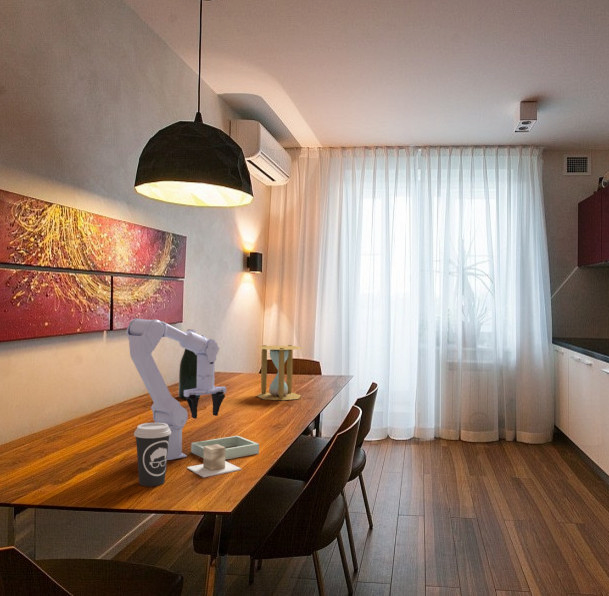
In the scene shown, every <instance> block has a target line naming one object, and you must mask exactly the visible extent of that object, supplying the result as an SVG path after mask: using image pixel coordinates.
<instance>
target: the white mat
mask: <svg viewBox="0 0 609 596" xmlns="http://www.w3.org/2000/svg"><path fill="white" fill-rule="evenodd" d="M186 469H187V470H189V471H191V472H193V473H194V474H196V475H199V476H200V477H201V478H207V477H213V476H214V477H215V476H218V475H222V474H228V473H233V472H238V471H242V468H241V467H239V466H237V465H235V464H232V463H231V462H228V461H226V460H225V469H220V470H214V471H210V470H208V469H206V468H204V467H203V463H202V464H197V465H191V466H187V467H186Z"/></svg>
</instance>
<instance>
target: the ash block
mask: <svg viewBox="0 0 609 596" xmlns="http://www.w3.org/2000/svg"><path fill="white" fill-rule="evenodd" d="M225 449H226V447H223V446H221V445H219V444H215V445H209V446H204V459H203V463H202V464H203V467H204V468H206V469H208V470H210V471H214V470H220V469H225V461H226V460H225Z"/></svg>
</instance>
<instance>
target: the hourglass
mask: <svg viewBox="0 0 609 596" xmlns="http://www.w3.org/2000/svg"><path fill="white" fill-rule="evenodd" d="M256 348H257V349H261V368H260V369H261V371H260V372H261V373H260V376H261V377H260V380H261V382H260V383H261V384H260V385H261V386H260V388H261V390H260V391H261V392H260V393H258V395H256V397H258V398H260V399H262V400H265V401H266V400H269V401H271V400H273V401H287V400H291V401H292V400H299V399H300V398H301V396H302V395H301V394H298V393H296V392H292V388H293V350H301V349H302V348H303V347H301V346H297V345H292V344H288V345H267V344H263V345H260V346H257V347H256ZM268 350H269V358H270V359H271V361H272V363H273V365H274V366H275V368H276V369H277V373H276V375H274V376H275V377H274V378H273V380H272V381H271V383H270V385H269V388H268V389H269V391H268V392H267V382H268V381H267V379H268V377H267V376H268ZM285 363H286V380H285Z"/></svg>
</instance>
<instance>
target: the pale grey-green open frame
mask: <svg viewBox="0 0 609 596" xmlns="http://www.w3.org/2000/svg"><path fill="white" fill-rule="evenodd" d="M190 443H191V447H190V448H191V450H190V453H191V454H194V455H195V456H198V457H199V458H201V459H203V460H204V446H209V445H215V444H219V445H221V446H223V447H225V461H226V460H230V459H231V460H232V459H236V458H237V459H238V458H241V457H246V456H252V455H253V456H254V455H259V454H260V443H257V442H255V441H252V440H250V439H247V438H245V437H242V436H240V435H234V436H233V435H232V436H227V437H219V438H214V439H208V440H207V439H206V440H201V441H195V442H190Z"/></svg>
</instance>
